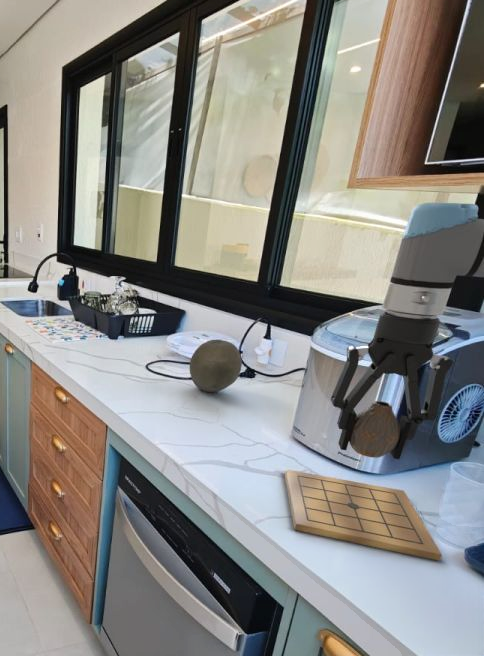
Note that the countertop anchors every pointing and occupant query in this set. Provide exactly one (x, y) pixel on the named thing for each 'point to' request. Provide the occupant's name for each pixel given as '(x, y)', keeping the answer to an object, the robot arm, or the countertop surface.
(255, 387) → the countertop surface
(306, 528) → the board
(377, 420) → the vase
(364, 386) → the robot arm
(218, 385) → the cantaloupe
